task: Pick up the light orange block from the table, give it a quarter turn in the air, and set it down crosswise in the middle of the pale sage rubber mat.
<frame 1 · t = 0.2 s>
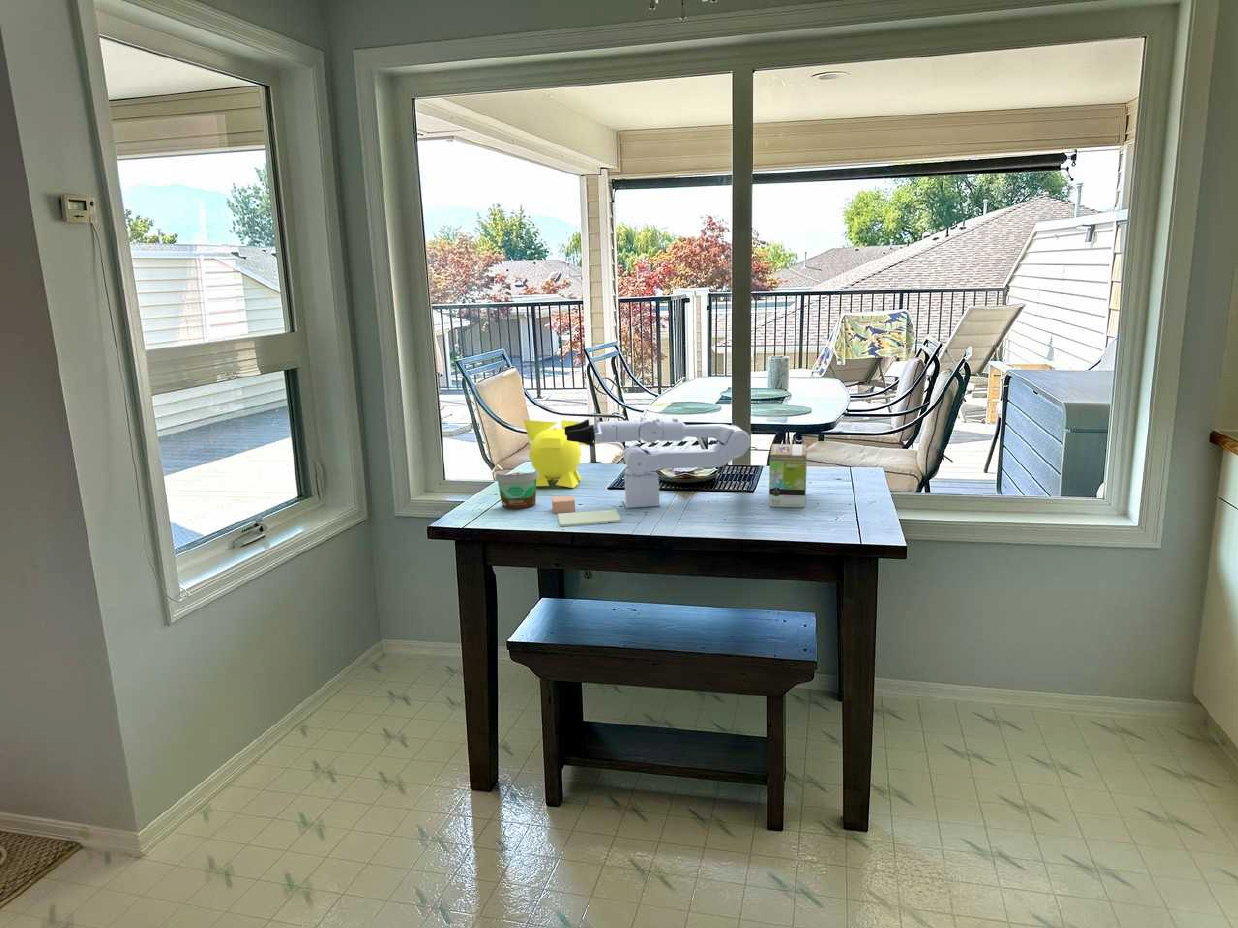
hand: (565, 433, 238), 21 cm above the table, tool horizontal, fingers open, 7 cm apart
food container: (519, 508, 246), on the table
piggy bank: (556, 483, 273), on the table
mat: (588, 518, 233), on the table
light orange block: (563, 511, 242), on the table
tea box: (787, 501, 244), on the table
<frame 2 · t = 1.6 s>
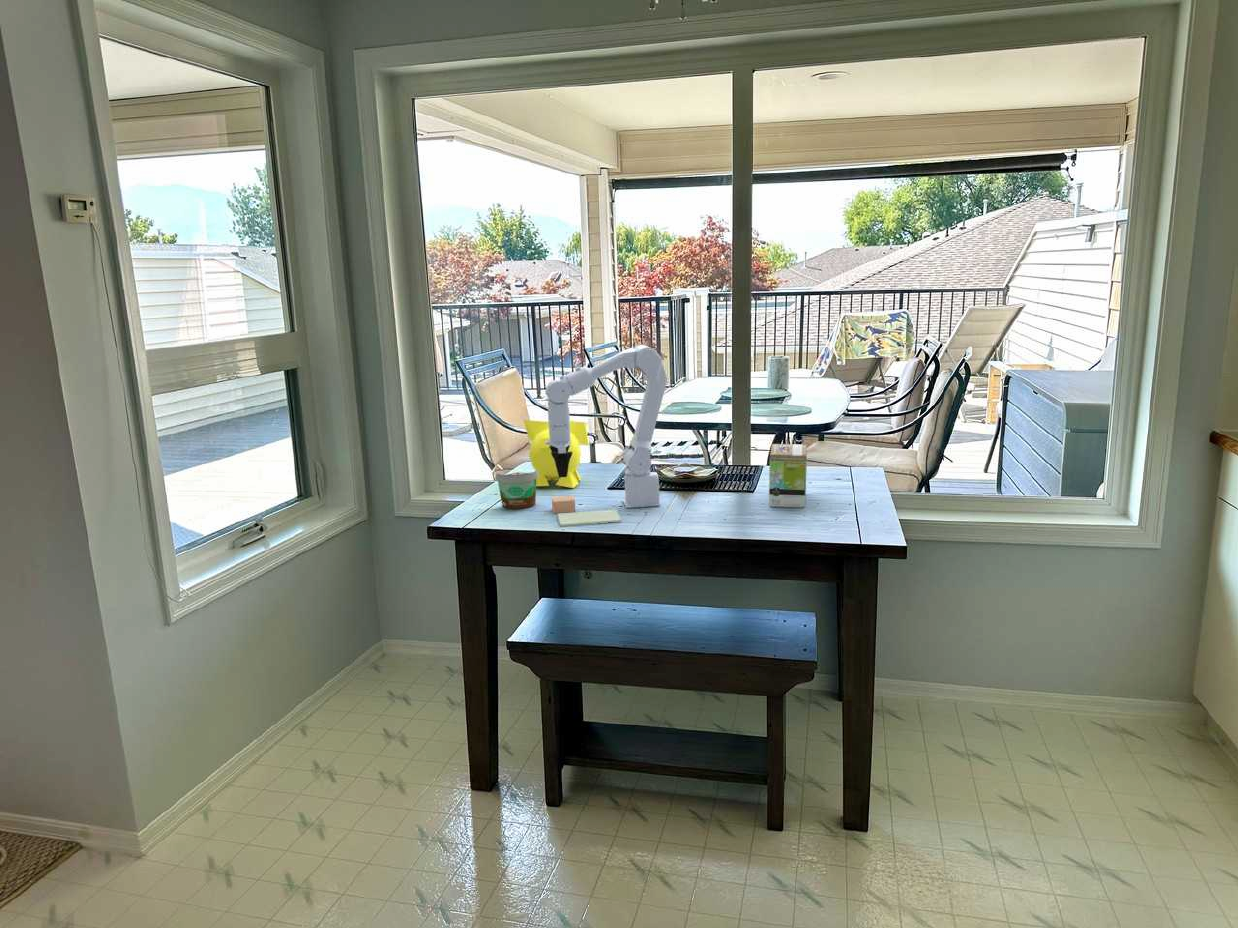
hand: (561, 473, 240), 10 cm above the table, tool pointing down, fingers open, 7 cm apart
nothing on the table moved.
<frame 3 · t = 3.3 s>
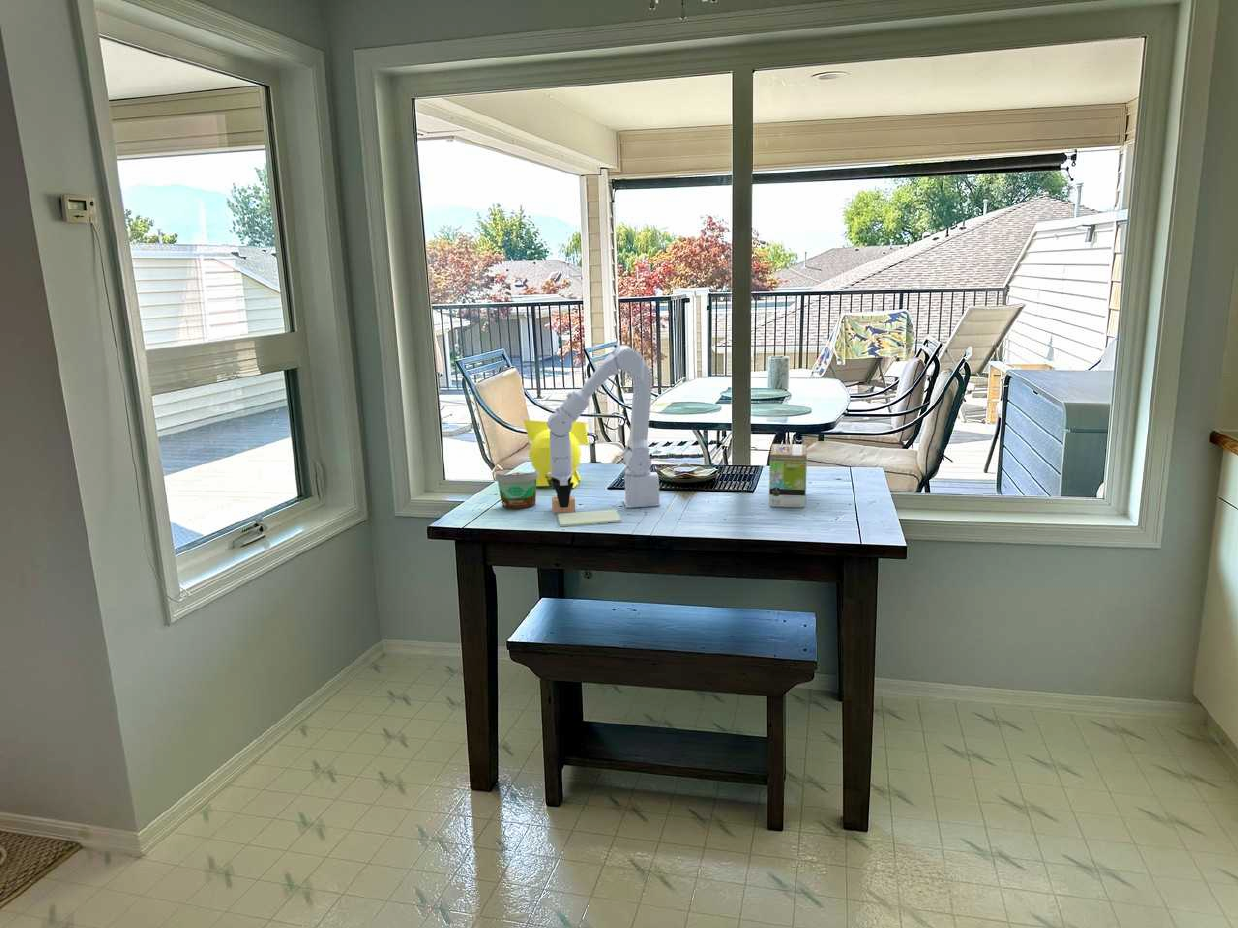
hand: (563, 504, 242), 2 cm above the table, tool pointing down, fingers closed on light orange block, 4 cm apart
light orange block: (563, 510, 242), on the table, touching gripper
everything else where it was.
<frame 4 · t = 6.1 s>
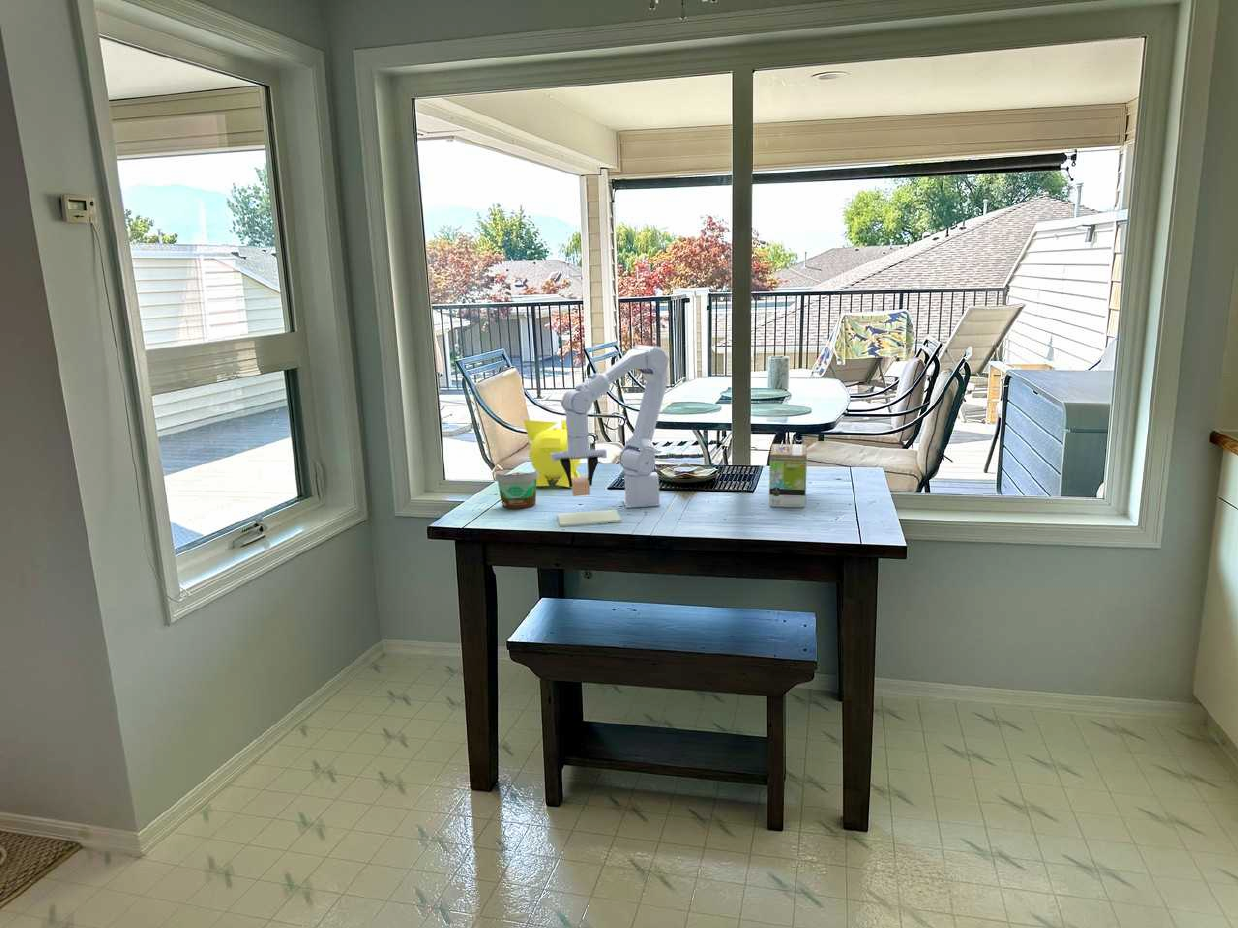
hand: (580, 485, 234), 9 cm above the table, tool pointing down, fingers closed on light orange block, 4 cm apart
light orange block: (580, 492, 234), point 7 cm above the table, touching gripper
everything else where it was.
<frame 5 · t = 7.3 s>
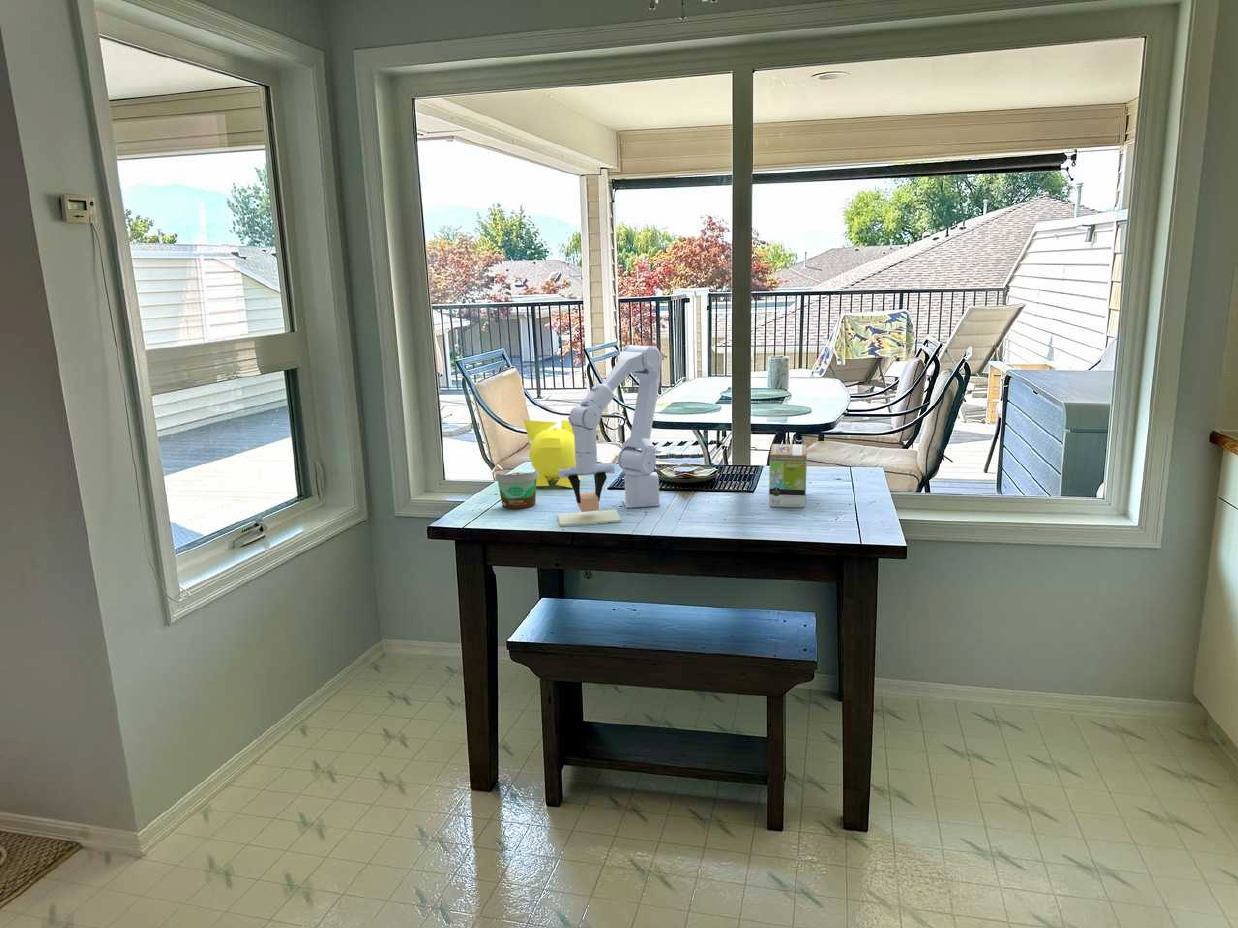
hand: (588, 501, 232), 5 cm above the table, tool pointing down, fingers closed on light orange block, 4 cm apart
light orange block: (588, 508, 233), point 3 cm above the table, touching gripper
everything else where it was.
when the fingers open (3 cm above the table, at t = 8.6 s): light orange block stays where it is, resting on mat.
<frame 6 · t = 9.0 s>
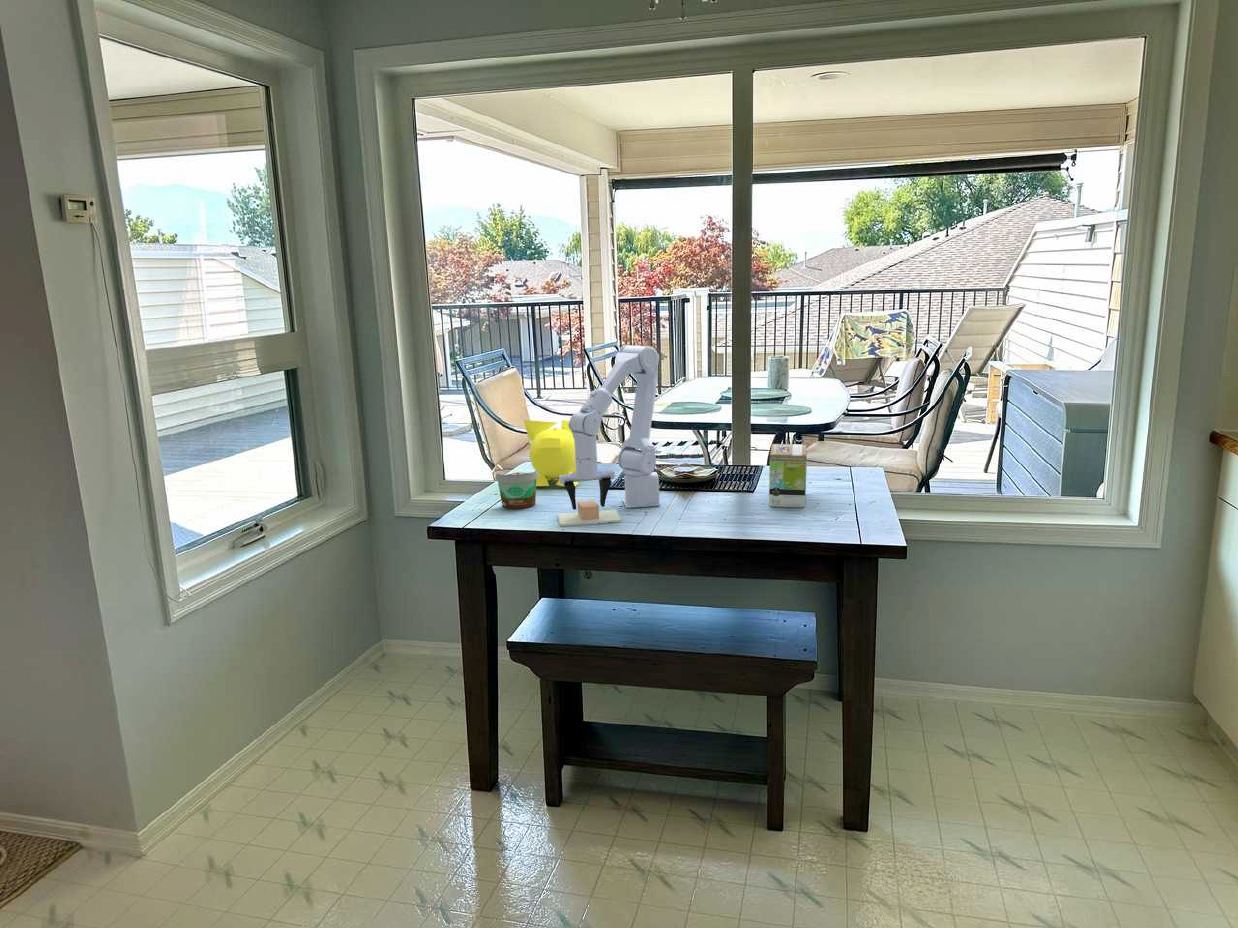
hand: (588, 507, 232), 3 cm above the table, tool pointing down, fingers open, 7 cm apart
light orange block: (588, 516, 233), point 1 cm above the table, touching mat
everything else where it was.
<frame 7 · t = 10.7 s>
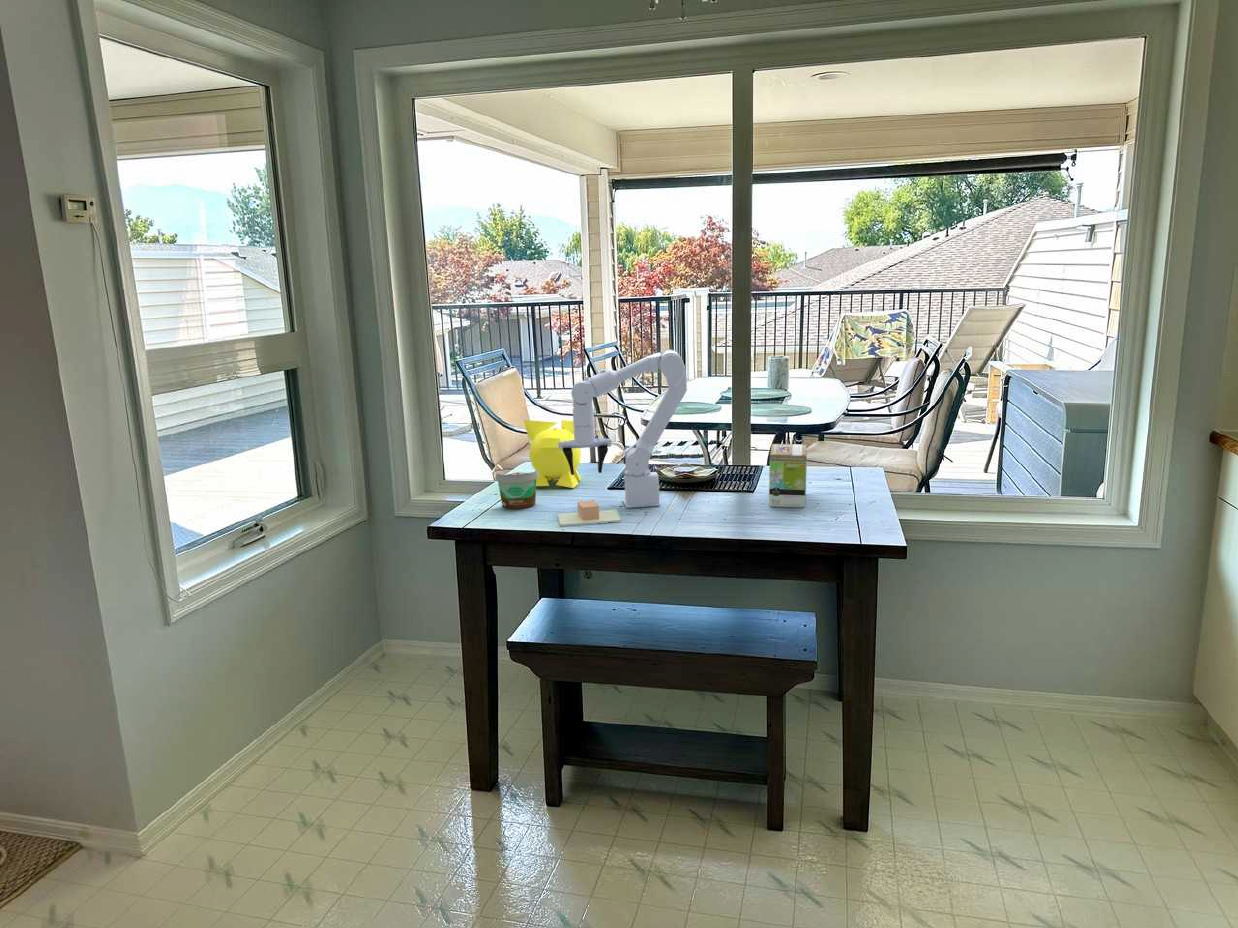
hand: (586, 473, 244), 9 cm above the table, tool pointing down, fingers open, 7 cm apart
nothing on the table moved.
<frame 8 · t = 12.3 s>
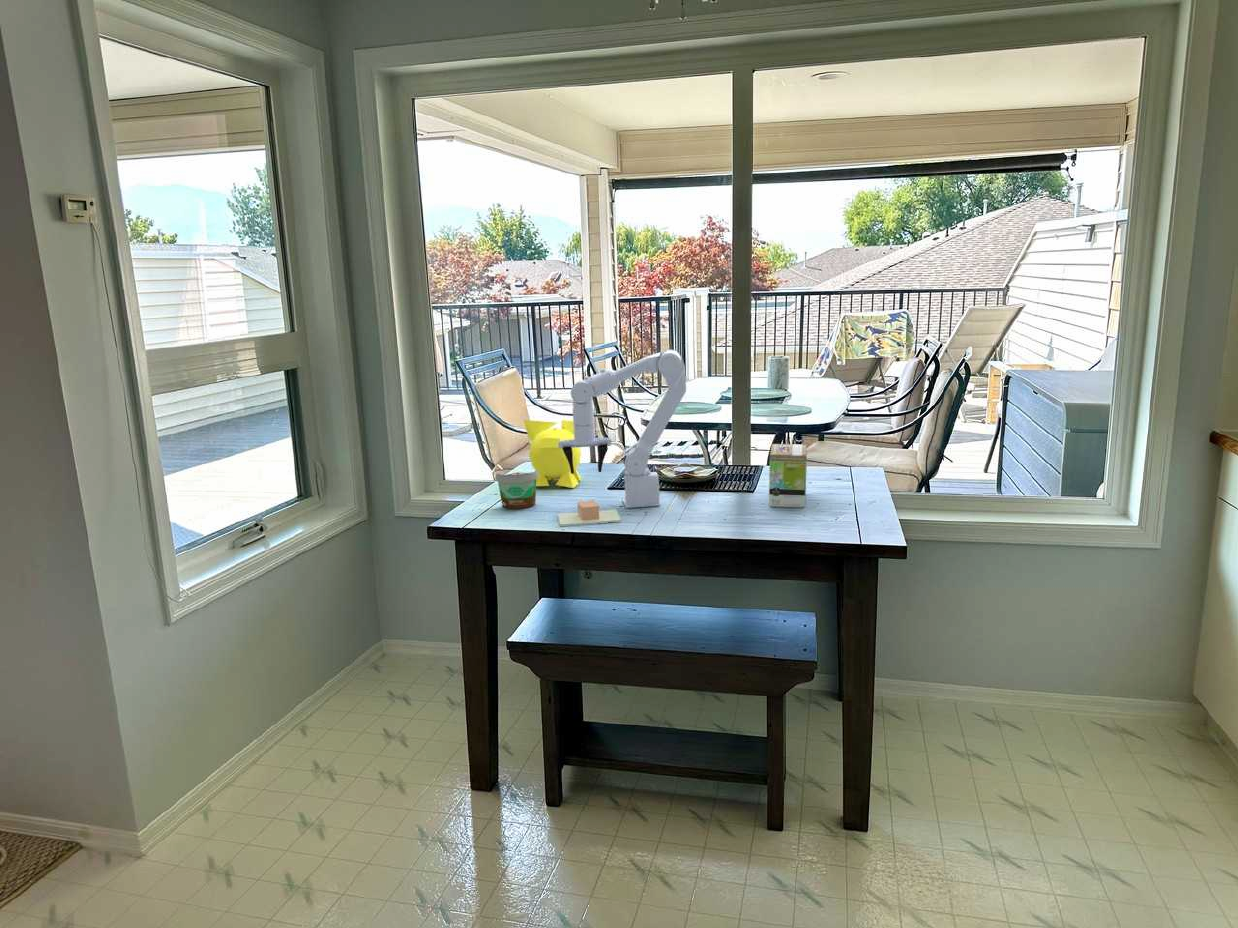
hand: (586, 472, 245), 9 cm above the table, tool pointing down, fingers open, 7 cm apart
nothing on the table moved.
at the end: light orange block 0.3 cm off-centre on the mat, point 0.6 cm above the mat's base; light orange block tilted 0°; the gripper is holding nothing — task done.
